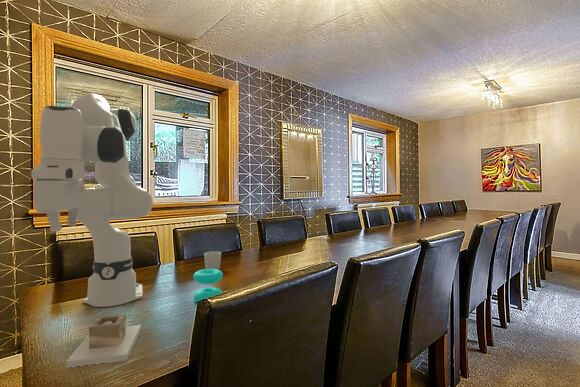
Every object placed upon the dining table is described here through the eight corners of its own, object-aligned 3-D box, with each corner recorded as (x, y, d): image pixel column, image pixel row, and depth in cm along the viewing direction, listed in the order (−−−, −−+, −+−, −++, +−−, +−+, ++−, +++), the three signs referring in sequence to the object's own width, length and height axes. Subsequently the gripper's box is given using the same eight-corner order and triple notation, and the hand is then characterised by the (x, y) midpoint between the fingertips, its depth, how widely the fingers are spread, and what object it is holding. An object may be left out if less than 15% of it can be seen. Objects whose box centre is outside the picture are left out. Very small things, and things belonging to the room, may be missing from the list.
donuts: (189, 275, 107) (197, 267, 117) (190, 305, 107) (197, 295, 117) (220, 275, 107) (225, 267, 117) (220, 304, 108) (225, 294, 118)
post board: (91, 335, 86) (91, 312, 85) (140, 330, 89) (140, 308, 88) (66, 368, 70) (65, 340, 70) (126, 360, 73) (126, 334, 73)
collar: (98, 336, 82) (97, 316, 82) (125, 333, 83) (125, 314, 83) (89, 348, 75) (88, 327, 75) (119, 345, 77) (118, 324, 77)
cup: (203, 266, 158) (203, 250, 158) (219, 265, 161) (219, 249, 161) (204, 272, 148) (204, 255, 148) (222, 271, 151) (222, 254, 150)
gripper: (66, 172, 88) (66, 223, 89) (26, 170, 69) (28, 235, 69) (91, 173, 90) (92, 222, 90) (60, 171, 70) (62, 234, 71)
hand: (64, 228), depth 80 cm, fingers open, 8 cm apart
